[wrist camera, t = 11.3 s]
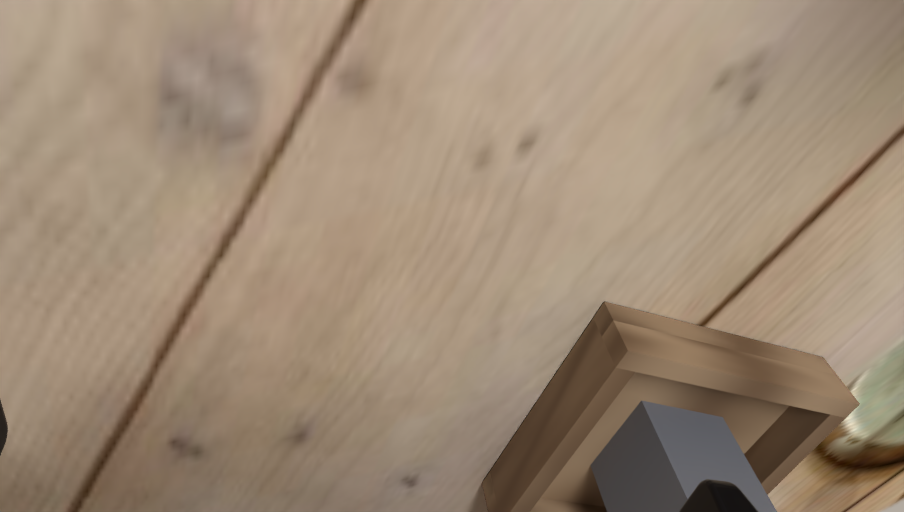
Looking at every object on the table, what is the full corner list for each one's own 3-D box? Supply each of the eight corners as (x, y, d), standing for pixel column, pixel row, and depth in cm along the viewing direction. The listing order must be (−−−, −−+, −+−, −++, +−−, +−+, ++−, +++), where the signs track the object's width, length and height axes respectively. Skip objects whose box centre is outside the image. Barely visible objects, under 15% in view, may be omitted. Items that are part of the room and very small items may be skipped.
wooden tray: (481, 483, 31) (492, 535, 29) (604, 301, 25) (627, 350, 23) (679, 510, 34) (701, 559, 32) (823, 357, 29) (859, 403, 27)
